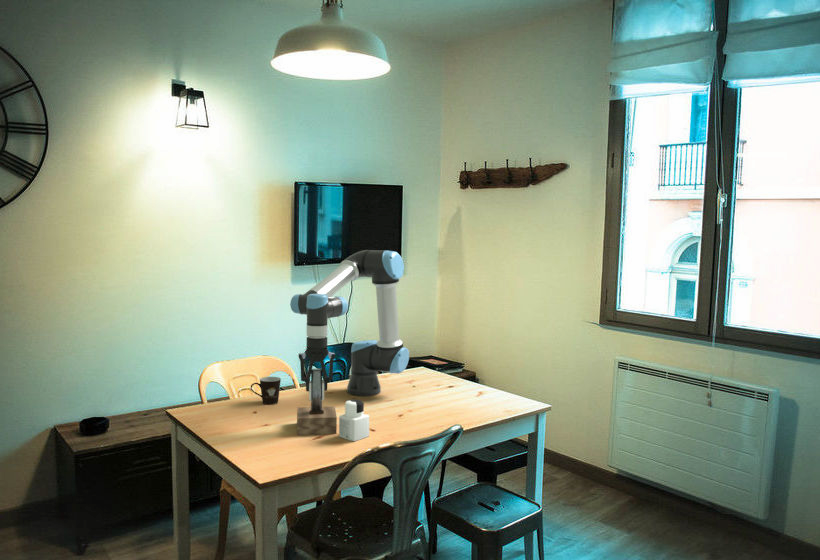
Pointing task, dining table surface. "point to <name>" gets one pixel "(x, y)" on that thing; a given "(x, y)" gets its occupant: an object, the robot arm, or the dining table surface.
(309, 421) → the bore block
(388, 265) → the robot arm
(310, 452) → the dining table surface
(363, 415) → the container
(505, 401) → the dining table surface
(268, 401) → the coffee mug
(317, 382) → the pin
